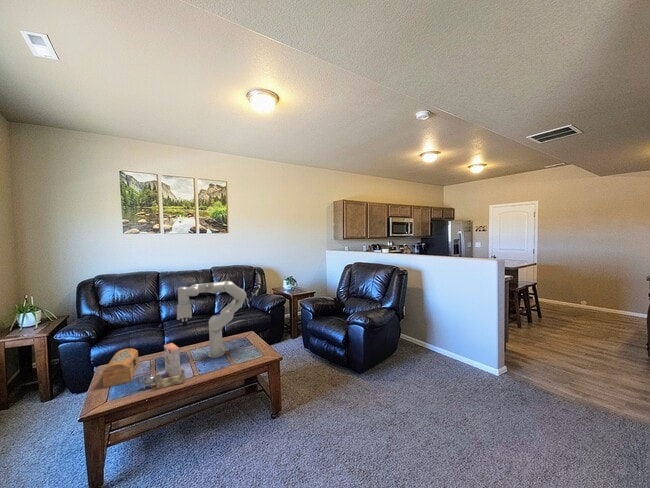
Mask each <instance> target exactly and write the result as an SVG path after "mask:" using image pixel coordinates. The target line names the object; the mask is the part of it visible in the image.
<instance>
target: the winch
mask: <svg viewBox="0 0 650 488" xmlns="http://www.w3.org/2000/svg"><path fill="white" fill-rule="evenodd" d="M157 374H158V373H156V374H154V375H149V376H146V375H144V376H143V378H142V380H141V381H140V376H137V379H136V380H137V382H136V383H137V385H139V384H143V387H142V388H143V390H146V385H151V384H155V387H156V388H158V387H157Z"/></svg>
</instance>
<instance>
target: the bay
mask: <svg viewBox="0 0 650 488" xmlns="http://www.w3.org/2000/svg"><path fill="white" fill-rule="evenodd" d="M180 371H181V375H178V376H174V377H169V376H168V377H166V378H162V373H161V372H159V373H156V374H157V387H156V388H157V390H158V389H162V388H166V387H170V386H173V385H174V386H175V385H179V384H185V383H186V373H185V368H183V367H182V368H180Z"/></svg>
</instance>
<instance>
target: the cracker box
mask: <svg viewBox="0 0 650 488" xmlns="http://www.w3.org/2000/svg"><path fill="white" fill-rule="evenodd" d="M163 351H164V352H163V353H164V369H165V371H164V372H165V375H167V377H168V378H169V377H174V376H178V375H181V357H180V355H181V354H180V347H178V345H176V344H175V343H173V342H169V343H167V344H164V345H163Z"/></svg>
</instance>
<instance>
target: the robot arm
mask: <svg viewBox="0 0 650 488" xmlns="http://www.w3.org/2000/svg"><path fill="white" fill-rule="evenodd" d="M223 292H224V293H225V292H226V293H227V294H229V295H230V296H232V297H233V299H232V301H230V303H229V304H227V305H226V306H224V307H223V308H222V309H221V310H220V312H219V315H211V317H210V318H209V320H208V332H209V335H208V336H209V352H208V354H207V356H208V357H209V358H219V357H222V356H224V355H225V353H226V352H227V351H229V347H223V328H224V327H225V326H226V325H227V324H229V323H230V322H231V321H232V320H233V318H234V314H235V313H236V312H237V311H238V310H239V309H241V307H242V306H243V304H244V302H245V300H246V298H247V292H246V291H245V290H244V288H241V287H239V286H238V285H236V284H235V283H234V282H233V281H232V280H224V281H217V282H205V283H204V282H203V283H195V284H192V285H190V286H189V287H188V286H180V287H178V289H177V300H178V301H177V303H178V304H177V307H176V320H178V321H181V322H182V326H183V328H186V327H187V325H188V321H189V320H190V319H191V318H193V316H192V315H193V314H192V313H193V312H192V305H191V303H192V300H191V299H190V297H195V296H198V295H199V294H202V293H210V294H218V293H223Z"/></svg>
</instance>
